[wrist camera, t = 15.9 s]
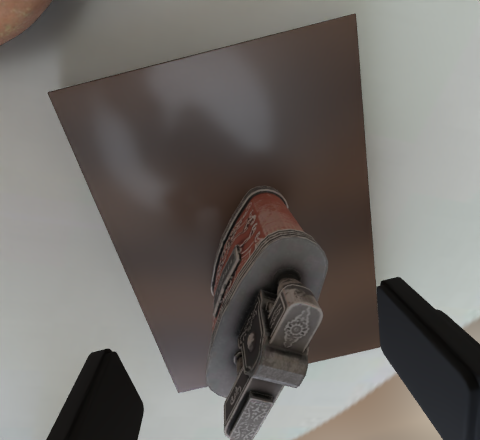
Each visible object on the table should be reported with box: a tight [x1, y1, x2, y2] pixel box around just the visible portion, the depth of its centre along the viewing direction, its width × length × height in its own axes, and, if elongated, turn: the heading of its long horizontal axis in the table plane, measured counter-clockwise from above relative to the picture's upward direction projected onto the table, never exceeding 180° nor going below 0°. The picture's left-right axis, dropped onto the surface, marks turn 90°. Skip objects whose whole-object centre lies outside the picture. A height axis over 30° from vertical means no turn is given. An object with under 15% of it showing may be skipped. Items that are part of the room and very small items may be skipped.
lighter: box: [206, 186, 328, 440], centre depth 14 cm, size 8×3×10 cm, turn 159°
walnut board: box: [48, 14, 380, 393], centre depth 19 cm, size 22×16×1 cm
